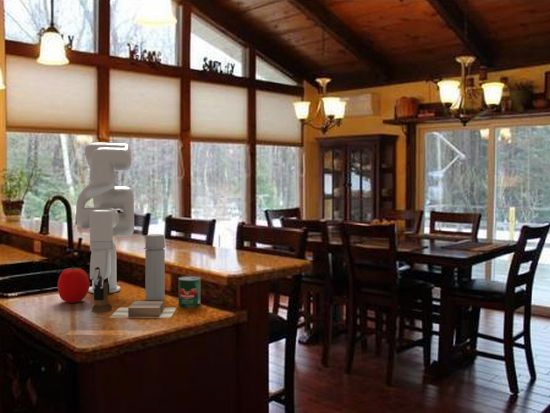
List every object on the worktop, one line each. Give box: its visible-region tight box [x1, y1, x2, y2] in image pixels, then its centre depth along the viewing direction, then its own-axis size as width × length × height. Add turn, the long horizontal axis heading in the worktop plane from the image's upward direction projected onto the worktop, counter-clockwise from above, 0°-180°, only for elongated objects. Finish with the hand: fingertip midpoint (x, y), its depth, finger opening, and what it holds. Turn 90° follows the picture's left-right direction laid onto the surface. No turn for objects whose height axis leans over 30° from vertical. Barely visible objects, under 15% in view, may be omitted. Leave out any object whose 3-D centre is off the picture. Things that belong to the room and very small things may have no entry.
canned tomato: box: [177, 275, 202, 309], centre depth 202 cm, size 8×8×11 cm
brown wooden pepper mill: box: [91, 278, 113, 314], centre depth 193 cm, size 7×6×18 cm
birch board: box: [108, 306, 177, 319], centre depth 191 cm, size 14×20×1 cm
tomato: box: [57, 266, 91, 304], centre depth 209 cm, size 12×12×13 cm
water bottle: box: [143, 233, 166, 301], centre depth 213 cm, size 9×8×25 cm
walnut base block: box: [128, 300, 165, 317], centre depth 190 cm, size 10×10×3 cm
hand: (101, 297), depth 193 cm, fingers open, 6 cm apart
